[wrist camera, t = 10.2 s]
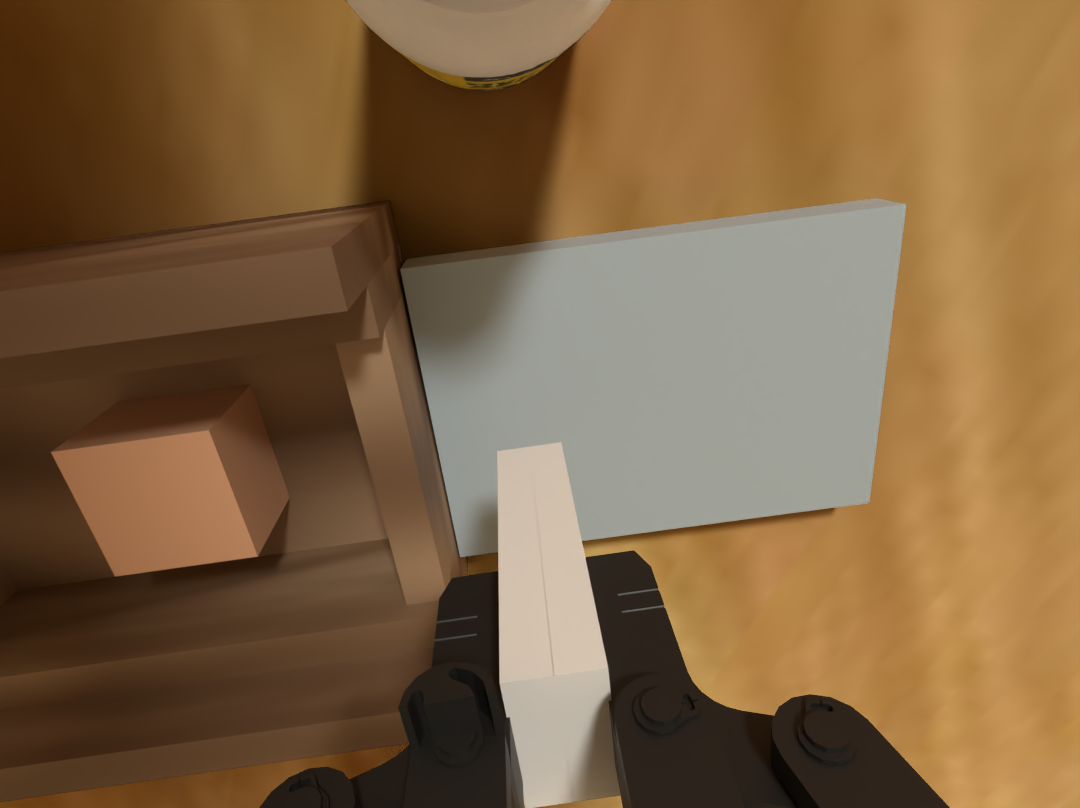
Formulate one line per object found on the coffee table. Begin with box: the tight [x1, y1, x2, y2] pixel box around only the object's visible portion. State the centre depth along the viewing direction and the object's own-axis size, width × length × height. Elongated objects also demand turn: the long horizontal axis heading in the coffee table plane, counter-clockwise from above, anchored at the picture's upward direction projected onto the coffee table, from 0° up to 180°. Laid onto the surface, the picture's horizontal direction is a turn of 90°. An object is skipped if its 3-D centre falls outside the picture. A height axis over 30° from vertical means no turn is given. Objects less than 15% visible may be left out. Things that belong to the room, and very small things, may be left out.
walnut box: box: [0, 201, 468, 802], centre depth 17 cm, size 13×16×7 cm
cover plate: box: [400, 198, 906, 557], centre depth 20 cm, size 10×14×2 cm
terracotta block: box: [51, 385, 290, 577], centre depth 18 cm, size 4×4×3 cm
